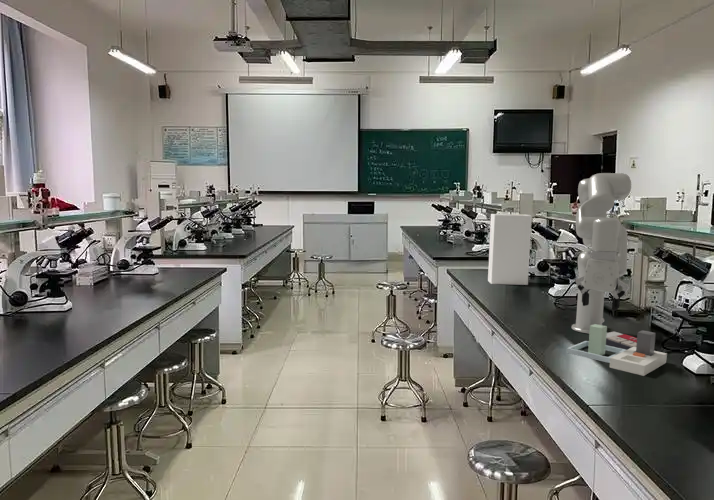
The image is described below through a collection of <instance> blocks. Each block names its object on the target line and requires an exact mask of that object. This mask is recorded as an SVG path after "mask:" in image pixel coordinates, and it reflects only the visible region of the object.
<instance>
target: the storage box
mask: <svg viewBox="0 0 714 500" xmlns="http://www.w3.org/2000/svg"><path fill="white" fill-rule="evenodd" d="M532 218H533V216H532V215H531V214H521V213H520V214H513V213H512V214H511V213H506V214H505V213H490V227H489V229H490V230H489V231H490V232H489V247H488V248H489V249H488V271H487V273H488V274H487V282H489V284H491V285H517V286H519V285H520V286H524V285H525V286H528V285H529V272H530V271H529V270H530V255H531V253H530V252H531V251H530V250H531V235H532V233H531V232H532Z"/></svg>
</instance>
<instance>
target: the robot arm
mask: <svg viewBox="0 0 714 500" xmlns="http://www.w3.org/2000/svg"><path fill="white" fill-rule="evenodd" d="M577 187H578V188H577V194H578V199H579V203H580V206H579V207H578V209H577V211H576V213H575V232H576V235H577V236H578V237H579V238H580V239H582V243H583V246H585V247H587V248H591V250H583V251H582V252H580V253H579V255H578V257H577V271H578V278H576V279H575V281H574V282H575V283H576V286H577V304H576V317H575V318H576V319H575V323H573V324H571V329H572V330H573V331H575V332H579V333H583V334H588V335H589V332H590V326H591V325H594V324H597V325H602V326H603V323H604V322H605V318H604V303H605V302H604V300H605V293H611V295H612V296H613V298H612V304H611V305H612V306H611V310H612V311H613V312H614V311H618V310H619V309H620V303H621V302H620V301H621V298H622V297H624V296H625V295H626V294H627V292H628V291H629V289H630V285H628V284H627V283H626V282H624V281H622V280H621V279H620V277H623V276H624V275H625V274H626V272H627V267H628V231H627V229H626V227H625V226H624V225H622V223H621V222H620V220H619V219H618V218H617V217H608V213H607V212H610V211H611V210H612V209H613V207H614V206H615V201H624V200H625V199H627V197H628V196H629V195H630V193H631V189H632V180H631V177H630V176H629V175H628V174H626V173H624V172H623V173H622V172H621V173H620V172H618V173H617V172H615V173H613V172H612V173H611V172H601V173H600V172H599V173H596V174H592V175H591V176H590V177H589V178H583V179H582V180H580V181H579V183H578V186H577ZM620 287H621V288H622V290H621V291H619V290H620Z"/></svg>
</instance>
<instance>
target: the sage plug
mask: <svg viewBox="0 0 714 500" xmlns="http://www.w3.org/2000/svg"><path fill="white" fill-rule="evenodd" d="M607 333H608V326H607V325H603V324H602V325H597V324H594V325H591V326H590V332H589V334H588V341H589V346H587V347H588V349H587V352H588V353H593V354H597V355H601V356H604V355H606V350H605V348H606V335H607Z"/></svg>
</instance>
